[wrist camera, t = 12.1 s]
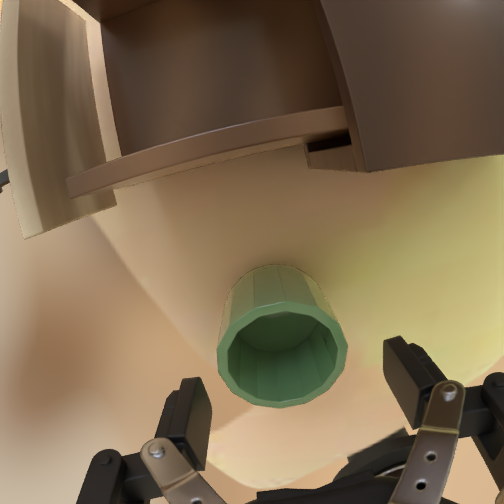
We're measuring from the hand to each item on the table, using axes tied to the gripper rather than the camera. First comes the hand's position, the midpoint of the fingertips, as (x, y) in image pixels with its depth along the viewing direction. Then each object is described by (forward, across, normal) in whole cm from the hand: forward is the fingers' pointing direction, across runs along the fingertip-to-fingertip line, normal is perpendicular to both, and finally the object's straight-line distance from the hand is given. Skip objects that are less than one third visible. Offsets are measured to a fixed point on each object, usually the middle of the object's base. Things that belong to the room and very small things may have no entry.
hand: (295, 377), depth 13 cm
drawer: (+6, +4, -15) cm, 16 cm away
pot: (+7, 0, 0) cm, 7 cm away
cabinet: (+7, -11, -15) cm, 20 cm away
